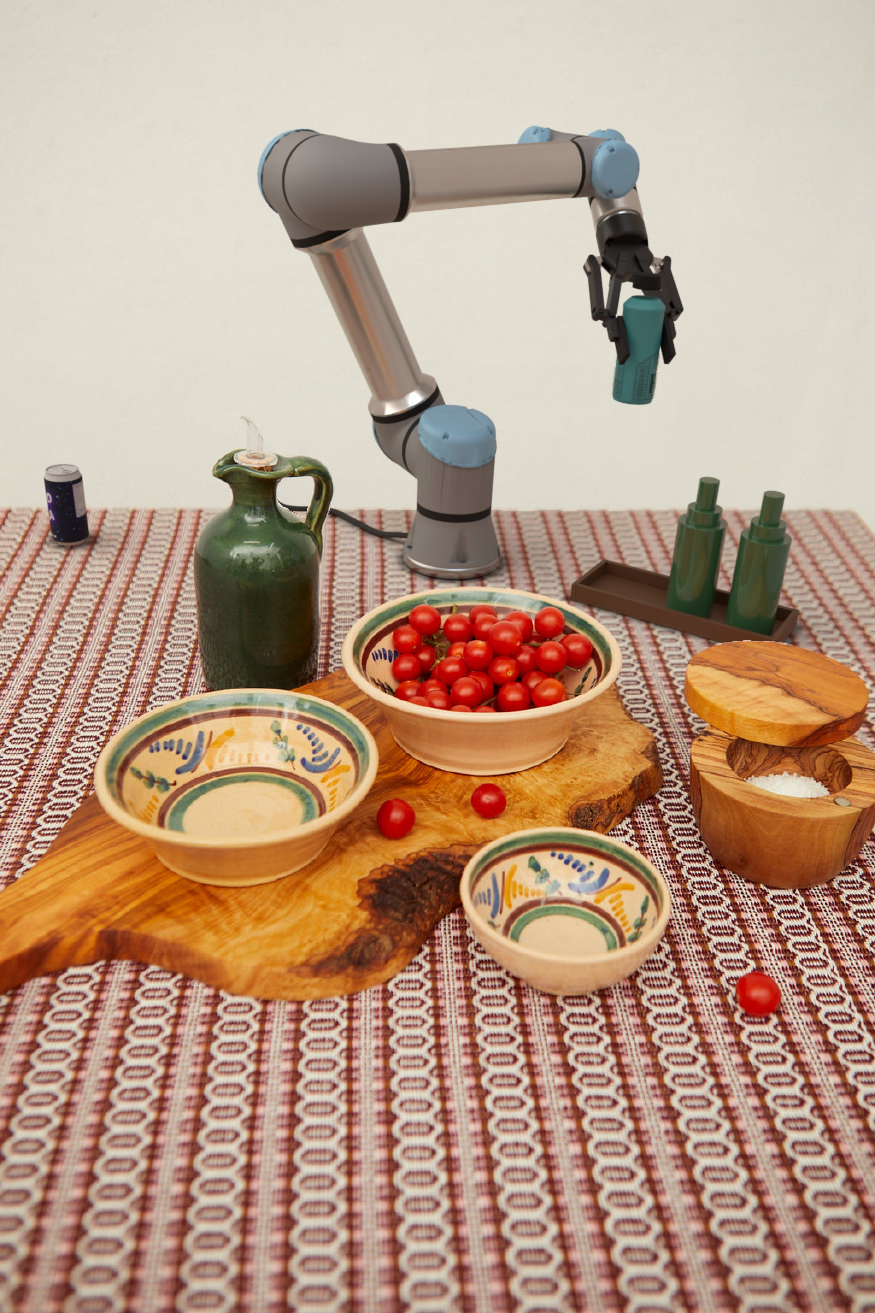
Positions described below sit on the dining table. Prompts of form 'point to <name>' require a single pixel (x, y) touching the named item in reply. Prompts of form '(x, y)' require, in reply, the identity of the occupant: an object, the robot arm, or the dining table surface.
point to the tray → (647, 598)
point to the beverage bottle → (640, 343)
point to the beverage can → (66, 504)
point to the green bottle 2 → (760, 569)
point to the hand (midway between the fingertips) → (647, 359)
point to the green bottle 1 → (698, 553)
